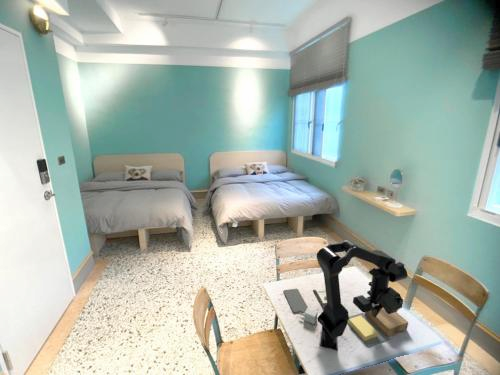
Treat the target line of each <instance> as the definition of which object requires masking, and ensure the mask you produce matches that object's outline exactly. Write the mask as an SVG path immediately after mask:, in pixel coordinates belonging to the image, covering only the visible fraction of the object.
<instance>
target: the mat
mask: <svg viewBox="0 0 500 375" xmlns="http://www.w3.org/2000/svg"><path fill="white" fill-rule="evenodd" d="M360 315H361V316H362V317H363V318H364V319H365V320H366V321H367V322H368V323H369V324H370V325H371V326H372V327H373V328H374V329H375V330H376V331H377V332H378V334H377V337H374V338H371V339H369V340H366V341H364V339H363V338H362V337H361V336H360V335H359V334H358V333H357V332H356V331H355V330H354V329H353V327H352V326H351V325H350V324H349V320H348V324H347V326H349V328H351V330H353V331H354V333H355V334H356V335H357V336H358V337H359V338H360V339H361V341H363V343H364V344H365V345H366V347H368V348H370V347H373V346H376V345H378V344H381V343H384V342H386V341H390V337H387V336H386V335H385V334H384V333H383V332H382V331H381V330H380V329H379V328H378V327H377V326H376V325H375V324H374V323H373V322H372V321H371V320H370V319H369V318H368V317H367V316H366V315H365V313H364V312H361V313H360V312H359V313H357V314H355V315H351V316H349V317H348V318H349V319H351V318H354V317H357V316H360Z"/></svg>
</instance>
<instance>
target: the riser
mask: <svg viewBox="0 0 500 375" xmlns="http://www.w3.org/2000/svg"><path fill="white" fill-rule="evenodd" d="M364 314H365V315H366V316H367V317H368V318H369V319H370V320H371V321H372V322H373V323H374V324H375V325H376V326H377V327H378V328H379V329H380V330H381V331H382V332H383V333H384V334H385V335H386V336H387V337H388V338H390V337H392V336H395V335H397V334H400V333H403V332H405V331H407V330H408V326H409V321H407V320H406V319H405V317H403V316H402V315H401V314H399V313H398V311H397V312H394V313H391V314H388V313H387V312H386V311H385V309H384V308H382V309H381V310H380V312H379V313H378V315H377V316H376V317H373V316H372V313H371V311H368V312H365V313H364Z"/></svg>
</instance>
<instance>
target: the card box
mask: <svg viewBox="0 0 500 375" xmlns="http://www.w3.org/2000/svg"><path fill="white" fill-rule="evenodd" d="M349 324H350V325H351V326H352V327H353V329H354V330H355V331H356V332H357V333H358V334H359V335H360V336H361V337H362V338H363V339H364V341H366V340H369V339H371V338H374V337H377V334H378V332H377V331H376V330H375V329H374V328H373V327H372V326H371V325H370V324H369V323H368V322H367V321H366V320H365V319H364V318H363V317H362V316H361V315H360V316H357V317H354V318H351V319H349ZM353 329H352V330H353ZM354 330H353V331H354ZM355 331H354V332H355ZM356 332H355V333H356ZM364 341H363V342H364Z"/></svg>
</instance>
